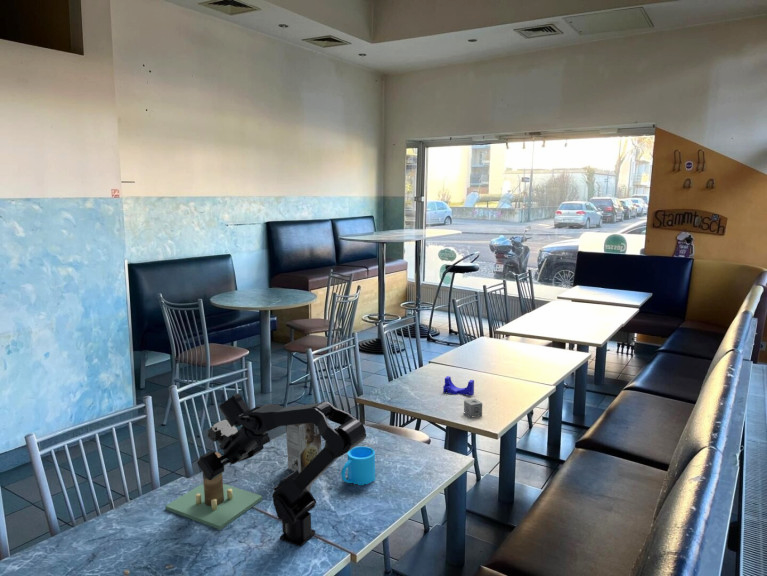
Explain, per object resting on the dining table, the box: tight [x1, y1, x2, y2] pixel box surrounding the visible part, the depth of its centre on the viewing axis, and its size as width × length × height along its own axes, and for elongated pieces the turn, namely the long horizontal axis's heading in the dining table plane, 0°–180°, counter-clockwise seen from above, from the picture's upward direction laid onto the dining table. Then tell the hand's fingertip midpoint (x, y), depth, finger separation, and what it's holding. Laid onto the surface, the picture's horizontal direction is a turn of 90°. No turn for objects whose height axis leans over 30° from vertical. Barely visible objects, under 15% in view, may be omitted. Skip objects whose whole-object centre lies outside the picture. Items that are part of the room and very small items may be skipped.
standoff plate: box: [164, 482, 263, 531], centre depth 151 cm, size 20×16×4 cm
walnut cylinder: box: [202, 451, 224, 506], centre depth 150 cm, size 5×5×13 cm
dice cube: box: [463, 398, 483, 418], centre depth 211 cm, size 5×5×5 cm
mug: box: [340, 445, 376, 486], centre depth 162 cm, size 12×8×8 cm
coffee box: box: [285, 423, 323, 473], centre depth 170 cm, size 9×6×16 cm
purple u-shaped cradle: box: [442, 375, 475, 397], centre depth 233 cm, size 12×4×6 cm, turn 62°
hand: (217, 469), depth 148 cm, fingers open, 9 cm apart
